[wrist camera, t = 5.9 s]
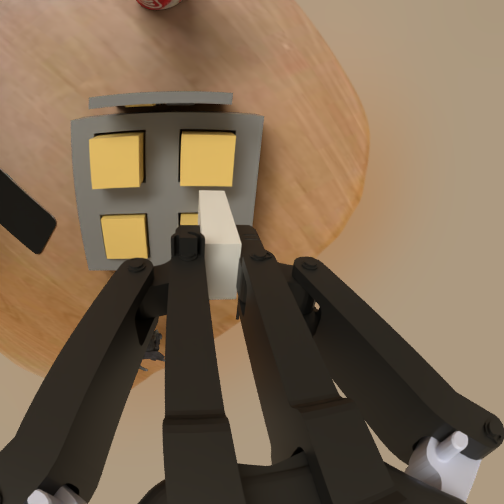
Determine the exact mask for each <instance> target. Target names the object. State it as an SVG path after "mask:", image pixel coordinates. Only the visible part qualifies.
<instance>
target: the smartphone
mask: <svg viewBox="0 0 504 504" xmlns="http://www.w3.org/2000/svg"><path fill="white" fill-rule="evenodd" d="M0 224H1V225H2V226H3V227H4V228H6V229H7V230H8V231H9V232H10V233H11V234H12V235H13V236H15V237H16V238H17V239H18V240H19V241H20V242H22V243H23V244H24V245H25V246H26V247H28V248H29V249H30V250H31V251H32V252H34V253H35V254H39V253H41V252H42V250H43V248H44V246H45V244H46V242H47V240H48V239H49V237H50V235H51V233H52V231H53V230H54V228H55V226H56V219H55V218H54V216H53V215H51V214H50V213H49V212H48V211H47V210H46V209H44V208H43V207H42V206H41V205H40V204H39V203H37V202H36V201H35V200H34V199H33V198H32V197H31V196H30V195H28V194H27V193H26V192H25V191H24V190H23V189H22V188H21V187H20V186H19V185H18V184H17V183H15V182H14V181H13V179H12V178H11V177H10V176H9V175H8V174H6V173H5V172H4V171H3V170H2V169H1V168H0Z"/></svg>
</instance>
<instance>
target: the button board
mask: <svg viewBox="0 0 504 504" xmlns="http://www.w3.org/2000/svg"><path fill="white" fill-rule="evenodd" d="M263 122H264V116H261V115H257V114H248V113H234V112H214V111H152V112H133V113H120V114H108V115H99V116H90V117H83V118H79V119H75V120H71V146H72V163H73V175H74V185H75V194H76V202H77V209H78V216H79V222H80V228H81V234H82V239H83V244H84V249H85V254H86V259H87V263H88V268H89V270H117V269H118V268H119V266H120V265H121V264H122V263H123V262H124V261H126V260H129V259H107V256H106V250H105V244H104V238H103V231H102V224H101V218H102V217H103V215H105V214H134V213H147V216H148V231H149V244H150V249H149V254H148V258H145V259H148V260H150V261H151V262H152V264H153V266H157V265H161V264H164V263H166V262H168V261H169V260H170V259H171V236H172V235H173V234H174V233H175V231H176V228H178V227H179V226H180V213H186V212H198V205H199V190H212V191H225V194H226V197H227V200H228V203H229V207H230V210H231V213H232V216H233V219H234V222H235V225H250V226H252V224H253V215H254V205H255V196H256V187H257V177H258V168H259V159H260V150H261V140H262V131H263ZM181 129H216V130H231V132H232V133H233V134H234V135H236V143H235V154H234V167H233V179H232V186H180V144H181ZM132 130H146V176H145V178H144V180H143V181H142V183H141V185H140V187H126V188H106V189H92V182H91V169H90V152H89V139H91V138H94V137H96V136H98V135H100V134H105V132H117V131H132Z"/></svg>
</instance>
